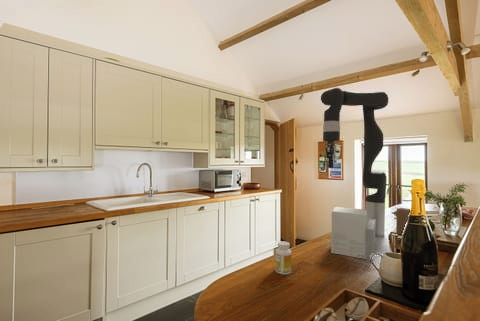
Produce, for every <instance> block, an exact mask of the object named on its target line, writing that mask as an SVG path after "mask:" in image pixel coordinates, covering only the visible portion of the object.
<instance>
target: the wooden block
mask: <svg viewBox="0 0 480 321" xmlns="http://www.w3.org/2000/svg"><path fill="white" fill-rule="evenodd" d="M410 209H411V208H406V207H398V208H397V209H396V226H395V227H396V230H395V232H396V233H395V235H396V234H401V235H402V233H403V230H404V227H405V224H406V222H407V220H408V215H409V213H410Z"/></svg>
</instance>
